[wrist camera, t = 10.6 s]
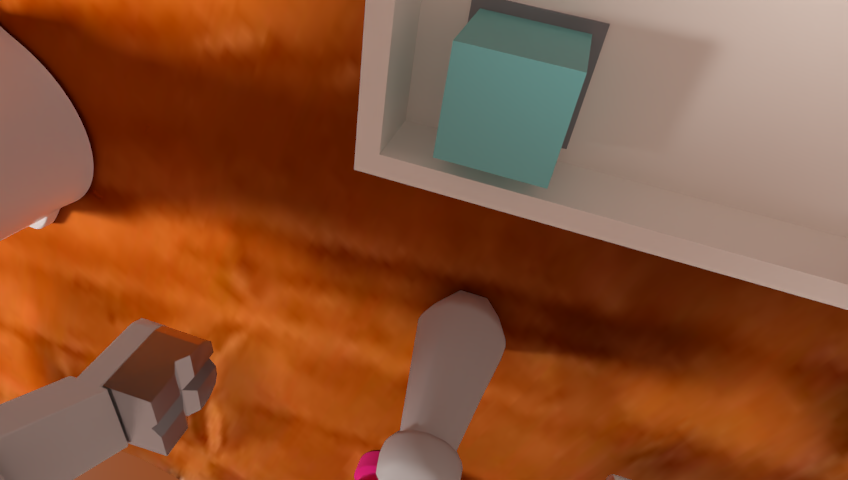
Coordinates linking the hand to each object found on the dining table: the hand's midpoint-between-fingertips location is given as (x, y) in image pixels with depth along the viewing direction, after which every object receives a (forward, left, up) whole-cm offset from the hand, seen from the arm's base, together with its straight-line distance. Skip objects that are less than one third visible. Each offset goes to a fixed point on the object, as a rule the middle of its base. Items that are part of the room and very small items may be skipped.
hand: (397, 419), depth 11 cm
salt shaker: (0, -17, -20) cm, 26 cm away
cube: (0, 0, -19) cm, 19 cm away
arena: (+5, +2, -20) cm, 21 cm away
